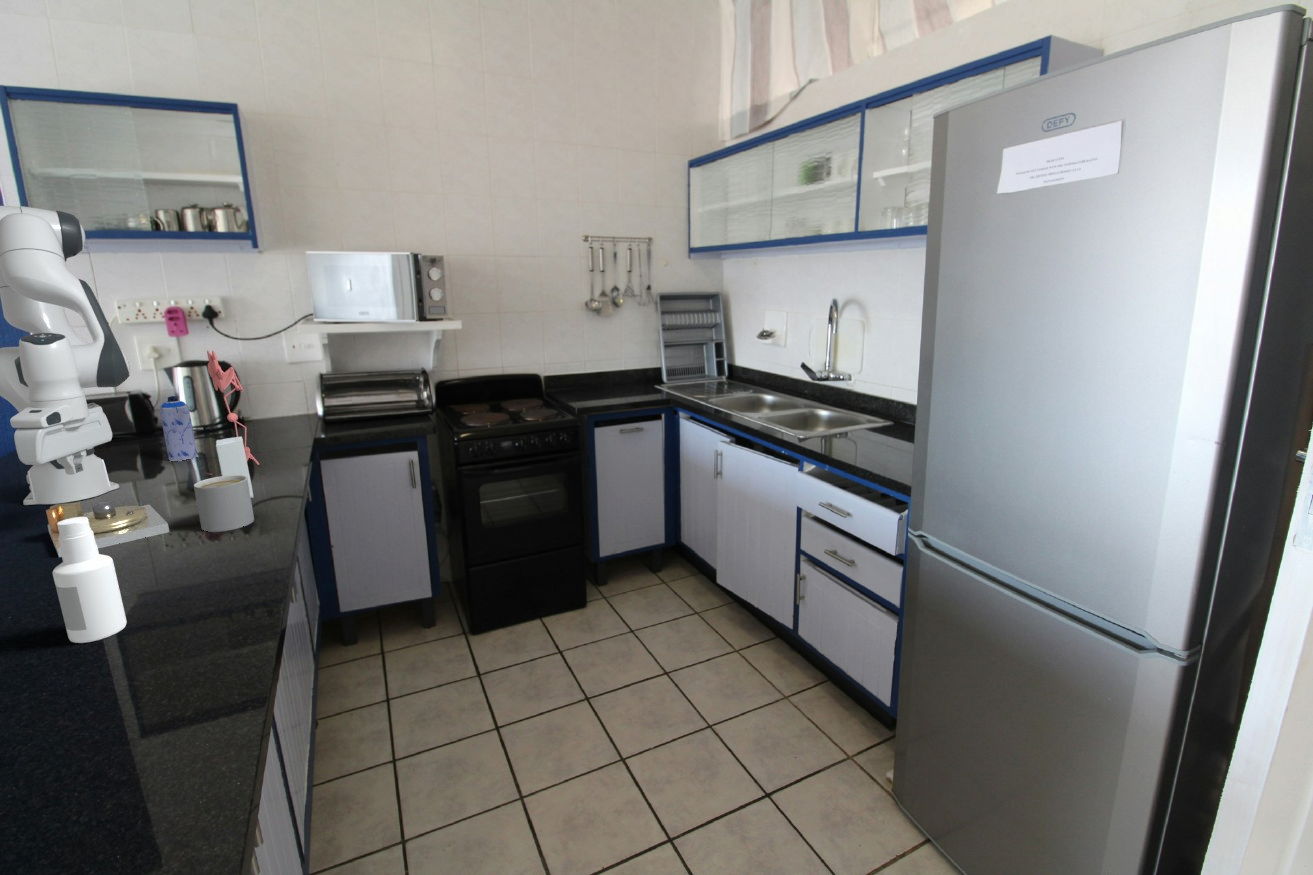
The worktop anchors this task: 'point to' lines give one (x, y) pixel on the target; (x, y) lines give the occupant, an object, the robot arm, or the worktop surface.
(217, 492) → the coffee mug
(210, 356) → the figurine
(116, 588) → the white bottle
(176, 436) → the aerosol can
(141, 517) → the flange plate
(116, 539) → the base plate
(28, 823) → the worktop surface
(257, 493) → the worktop surface
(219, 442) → the skincare box
